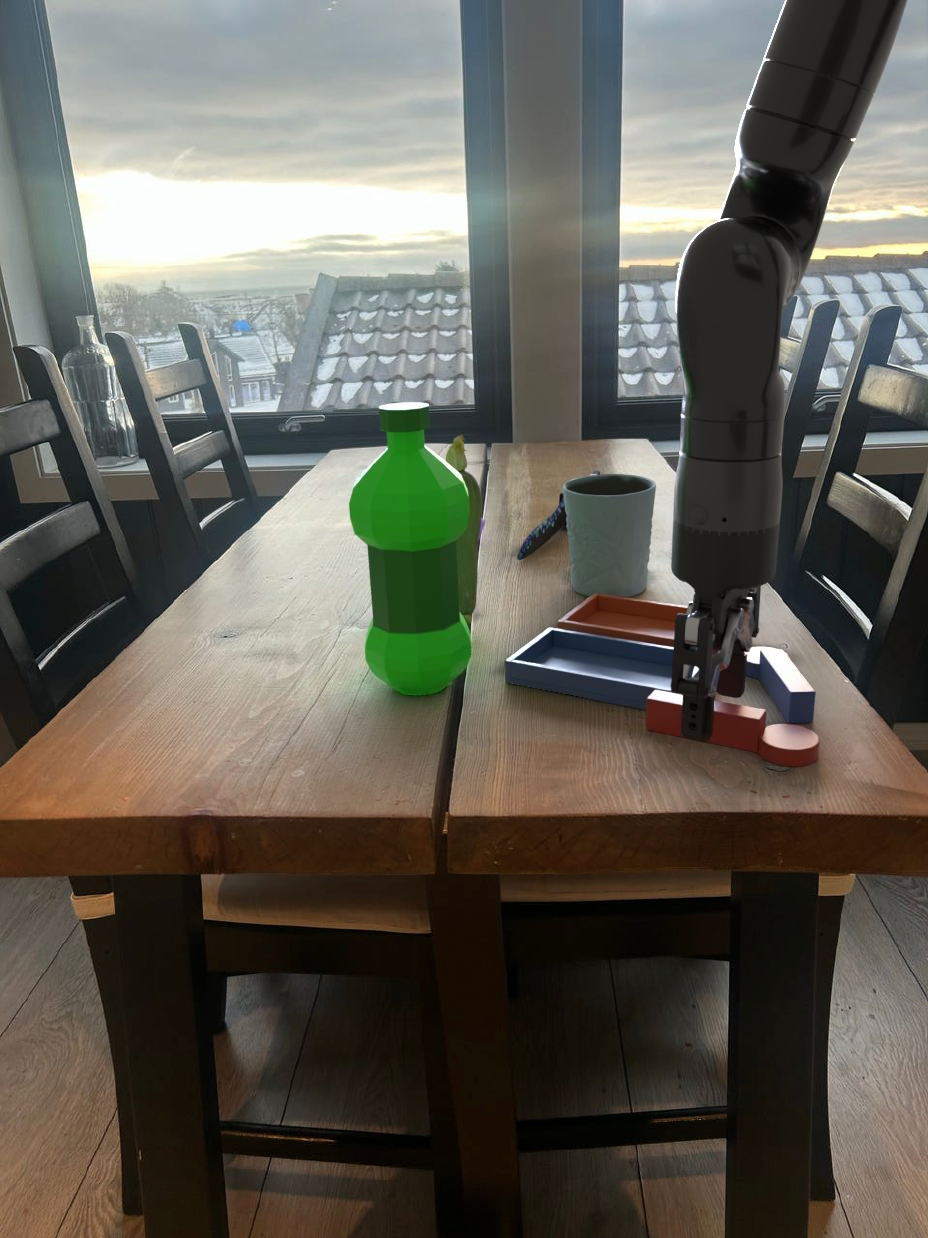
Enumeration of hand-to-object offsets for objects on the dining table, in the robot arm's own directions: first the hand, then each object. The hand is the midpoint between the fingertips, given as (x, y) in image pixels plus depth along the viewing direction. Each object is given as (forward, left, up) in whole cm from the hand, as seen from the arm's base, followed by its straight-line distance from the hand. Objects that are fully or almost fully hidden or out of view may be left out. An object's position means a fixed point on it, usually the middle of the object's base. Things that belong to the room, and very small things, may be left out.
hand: (713, 715), depth 78 cm
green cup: (+22, -31, -2) cm, 38 cm away
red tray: (+12, -18, -2) cm, 22 cm away
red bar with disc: (-1, 0, -2) cm, 2 cm away
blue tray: (+12, -7, -2) cm, 14 cm away
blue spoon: (-2, -11, -2) cm, 11 cm away
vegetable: (+31, -14, -2) cm, 34 cm away
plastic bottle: (+27, +1, -2) cm, 27 cm away
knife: (+37, -50, -2) cm, 62 cm away
